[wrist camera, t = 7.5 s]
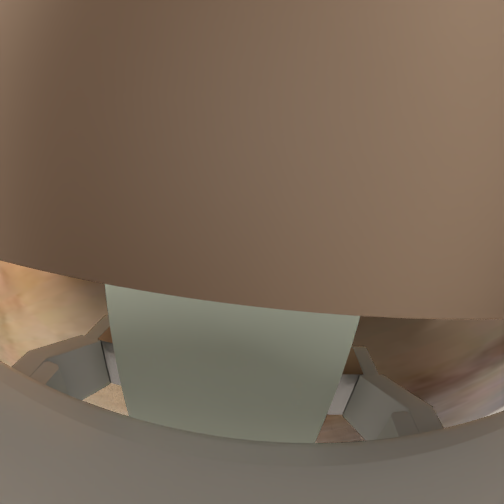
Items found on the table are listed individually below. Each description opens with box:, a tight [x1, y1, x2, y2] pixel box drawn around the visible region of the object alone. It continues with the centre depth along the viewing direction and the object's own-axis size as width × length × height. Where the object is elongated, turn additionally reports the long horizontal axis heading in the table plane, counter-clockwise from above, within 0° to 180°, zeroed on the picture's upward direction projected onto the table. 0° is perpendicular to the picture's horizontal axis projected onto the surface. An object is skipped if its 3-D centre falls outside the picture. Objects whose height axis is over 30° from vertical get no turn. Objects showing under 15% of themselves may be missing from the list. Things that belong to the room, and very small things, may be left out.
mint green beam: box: [105, 284, 360, 443], centre depth 8 cm, size 6×16×4 cm, turn 174°
